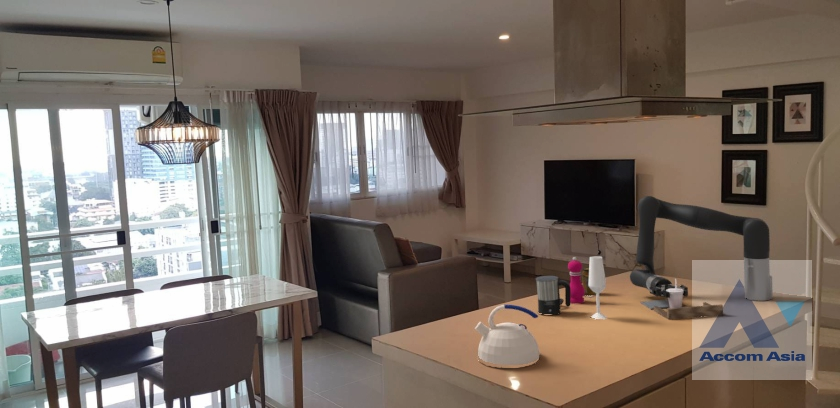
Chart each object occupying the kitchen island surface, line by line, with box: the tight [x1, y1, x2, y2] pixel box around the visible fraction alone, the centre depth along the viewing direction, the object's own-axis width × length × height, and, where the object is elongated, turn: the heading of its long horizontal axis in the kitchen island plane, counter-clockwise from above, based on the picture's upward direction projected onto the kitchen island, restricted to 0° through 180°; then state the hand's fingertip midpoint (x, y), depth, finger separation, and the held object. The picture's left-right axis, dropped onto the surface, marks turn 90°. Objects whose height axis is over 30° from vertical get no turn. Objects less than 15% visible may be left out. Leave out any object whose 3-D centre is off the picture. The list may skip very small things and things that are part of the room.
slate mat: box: [640, 299, 669, 310], centre depth 247 cm, size 11×11×1 cm
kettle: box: [474, 304, 541, 365], centre depth 195 cm, size 20×21×18 cm
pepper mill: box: [567, 256, 585, 304], centre depth 261 cm, size 7×7×20 cm
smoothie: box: [666, 278, 684, 308], centre depth 232 cm, size 6×6×14 cm
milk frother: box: [535, 275, 572, 315], centre depth 250 cm, size 14×16×15 cm
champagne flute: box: [588, 255, 608, 320], centre depth 234 cm, size 7×7×24 cm
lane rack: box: [653, 301, 724, 321], centre depth 233 cm, size 21×13×4 cm, turn 92°
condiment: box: [581, 267, 601, 298], centre depth 273 cm, size 7×8×12 cm
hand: (677, 294), depth 229 cm, fingers closed on smoothie, 6 cm apart
